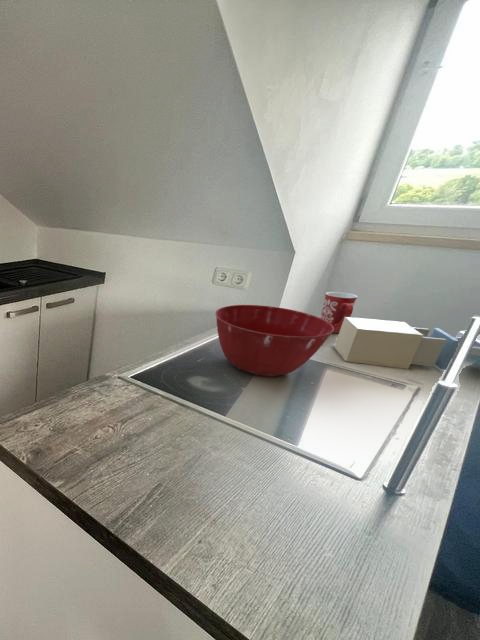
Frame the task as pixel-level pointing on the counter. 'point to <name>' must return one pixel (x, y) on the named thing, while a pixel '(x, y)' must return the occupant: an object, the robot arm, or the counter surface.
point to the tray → (435, 348)
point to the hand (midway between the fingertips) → (452, 344)
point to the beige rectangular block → (378, 342)
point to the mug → (337, 308)
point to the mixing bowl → (269, 338)
